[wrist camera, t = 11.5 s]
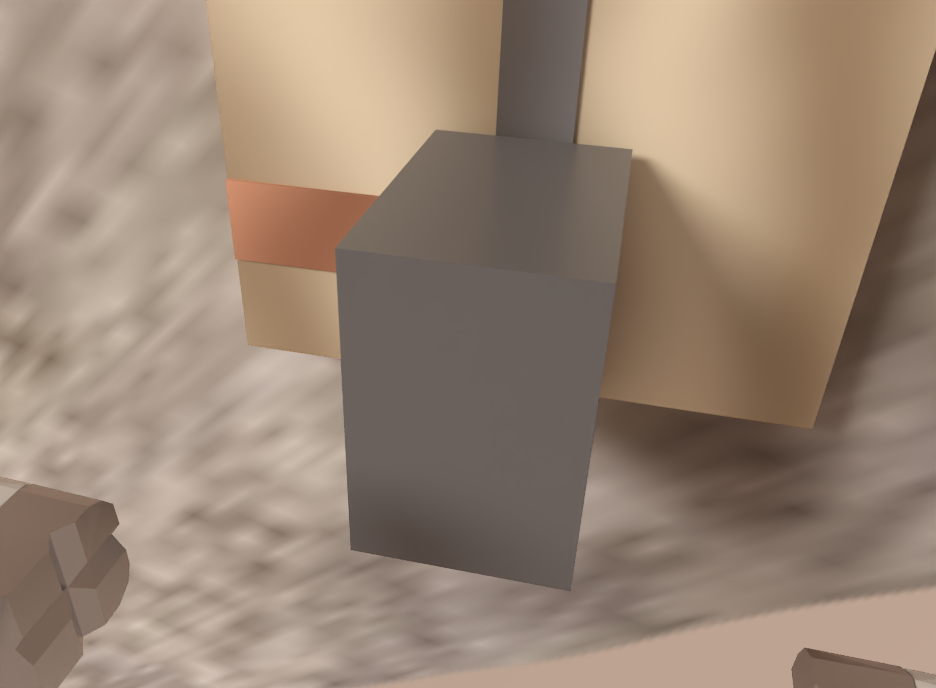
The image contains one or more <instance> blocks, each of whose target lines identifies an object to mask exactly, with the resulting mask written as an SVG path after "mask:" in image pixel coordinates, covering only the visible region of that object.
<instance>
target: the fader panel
mask: <svg viewBox="0 0 936 688" xmlns="http://www.w3.org/2000/svg"><path fill="white" fill-rule="evenodd" d="M206 6H207V14H208V22H209V30H210V38H211V47H212V55H213V63H214V71H215V79H216V88H217V96H218V104H219V112H220V120H221V129H222V137H223V145H224V153H225V161H226V170H227V178H228V179H226V187H227V195H228V203H229V212H230V220H231V228H232V236H233V244H234V252H235V259H237V260H238V268H239V276H240V284H241V292H242V301H243V309H244V317H245V325H246V333H247V342H248V345H251V346H258V347H265V348H271V349H278V350H285V351H291V352H298V353H305V354H312V355H318V356H325V357H332V358H338V359H341V353H340V334H339V314H338V295H337V276H336V257H335V247H336V246H337V245H338V244H339V243H340V242H341V240H342V239H343V238H344V237H345V236H346V235H347V233H348V232H349V231H350V230H351V229H352V227H353V226H354V225H355V224H356V223H357V222H358V220H359V219H360V218H361V217H362V216H363V215H364V213H365V212H366V211H367V210H368V209H369V207H370V206H371V205H372V204H373V203H374V202H375V200H376V199H377V198H378V197H379V196H380V195H381V193H382V192H383V191H384V190H385V189H386V187H387V186H388V185H389V184H390V183H391V182H392V180H393V179H394V178H395V177H396V176H397V175H398V173H399V172H400V171H401V170H402V169H403V167H404V166H405V165H406V164H407V163H408V162H409V160H410V159H411V158H412V157H413V156H414V154H415V153H416V152H417V151H418V150H419V149H420V147H421V146H422V145H423V144H424V143H425V142H426V140H427V139H428V138H429V137H430V136H431V134H432V133H433V132H434V131H435V130H446V131H456V132H466V133H476V134H486V135H495V136H505V137H515V138H525V139H535V140H545V141H555V142H565V143H575V144H585V145H595V146H605V147H615V148H625V149H633V151H632V159H631V167H630V175H629V184H628V192H627V200H626V208H625V216H624V225H623V233H622V241H621V249H620V257H619V265H618V274H617V282H616V289H615V296H614V302H613V309H612V316H611V322H610V329H609V336H608V343H607V349H606V356H605V363H604V369H603V376H602V383H601V390H600V396H599V398H606V399H613V400H620V401H626V402H633V403H640V404H646V405H653V406H660V407H666V408H673V409H680V410H687V411H693V412H700V413H707V414H713V415H720V416H727V417H733V418H740V419H747V420H753V421H760V422H767V423H774V424H780V425H787V426H794V427H800V428H807V429H813V426H814V423H815V420H816V417H817V414H818V411H819V408H820V404H821V401H822V398H823V395H824V392H825V389H826V386H827V383H828V380H829V377H830V374H831V371H832V367H833V364H834V361H835V358H836V355H837V352H838V349H839V346H840V343H841V340H842V337H843V334H844V330H845V327H846V324H847V321H848V318H849V315H850V312H851V309H852V306H853V303H854V300H855V297H856V294H857V290H858V287H859V284H860V281H861V278H862V275H863V272H864V269H865V266H866V263H867V260H868V257H869V253H870V250H871V247H872V244H873V241H874V238H875V235H876V232H877V229H878V226H879V223H880V220H881V216H882V213H883V210H884V207H885V204H886V201H887V198H888V195H889V192H890V189H891V186H892V183H893V179H894V176H895V173H896V170H897V167H898V164H899V161H900V158H901V155H902V152H903V149H904V146H905V142H906V139H907V136H908V133H909V130H910V127H911V124H912V121H913V118H914V115H915V112H916V109H917V105H918V102H919V99H920V96H921V93H922V90H923V87H924V84H925V81H926V78H927V75H928V72H929V69H930V65H931V62H932V59H933V56H934V53H935V50H936V0H206Z"/></svg>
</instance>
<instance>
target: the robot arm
mask: <svg viewBox="0 0 936 688" xmlns="http://www.w3.org/2000/svg"><path fill="white" fill-rule="evenodd" d="M118 525H119V521H118V518H117V515H116V512H115V509H114V506H113V504H111V503H108V502H104V501H101V500H97V499H93V498H89V497H85V496H81V495H76V494H72V493H68V492H64V491H60V490H56V489H52V488H47V487H43V486H39V485H35V484H30V483H25V482H21V481H16V480H12V479H8V478H3V477H0V688H58V687H59V686H60V684H61V683H62V682H63V680H64V679H65V678H66V676H67V675H68V674H69V672H70V671H71V670H72V668H73V667H74V666H75V664H76V663H77V662H78V660H79V659H80V658H81V657H82V655H83V636H85V635H87V634H89V633H91V632H92V631H94V630H96V629H98V628H100V627H102V626H103V625H105V624H106V623H107V622H108V620H109V619H110V618H111V616H112V615H113V613H114V612H115V611H116V609H117V608H118V606H119V605H120V602H121V600H122V597H123V595H124V592H125V589H126V587H127V584H128V581H129V560H128V556H127V552H126V549H125V548H124V547H123V546H122V545H121V544H120V543H119V542H118V541H117V539H116V538H115V537H114V536H113V535H112V533H113V532H114V530H115V529H116V528H117V526H118ZM792 677H793V686H794V688H936V675H933V674H929V673H925V672H919V671H915V670H910V669H903V668H901V667H899V666H894V665H889V664H884V663H879V662H874V661H869V660H864V659H859V658H854V657H849V656H844V655H839V654H834V653H828V652H824V651H819V650H814V649H809V648H804V649H803V650H802V651H801V652H800V653H799V654H798V655H797V657H796V660H795V662H794V665H793V667H792Z"/></svg>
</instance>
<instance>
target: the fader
mask: <svg viewBox="0 0 936 688" xmlns="http://www.w3.org/2000/svg"><path fill="white" fill-rule="evenodd" d="M632 151H633V149H625V148H615V147H605V146H595V145H585V144H575V143H565V142H555V141H545V140H535V139H525V138H515V137H505V136H495V135H486V134H476V133H466V132H456V131H446V130H435V131H434V132H433V133H432V134H431V136H430V137H429V138H428V139H427V140H426V142H425V143H424V144H423V145H422V146H421V147H420V149H419V150H418V151H417V152H416V153H415V154H414V156H413V157H412V158H411V159H410V160H409V162H408V163H407V164H406V165H405V166H404V167H403V169H402V170H401V171H400V172H399V173H398V175H397V176H396V177H395V178H394V179H393V180H392V182H391V183H390V184H389V185H388V186H387V187H386V189H385V190H384V191H383V192H382V193H381V195H380V196H379V197H378V198H377V199H376V200H375V202H374V203H373V204H372V205H371V206H370V207H369V209H368V210H367V211H366V212H365V213H364V215H363V216H362V217H361V218H360V219H359V220H358V222H357V223H356V224H355V225H354V226H353V227H352V229H351V230H350V231H349V232H348V233H347V235H346V236H345V237H344V238H343V239H342V240H341V242H340V243H339V244H338V245H337V246H336V247H335V257H336V276H337V295H338V314H339V334H340V353H341V372H342V391H343V410H344V429H345V448H346V467H347V486H348V505H349V524H350V543H351V550H354V551H360V552H365V553H370V554H376V555H381V556H386V557H391V558H397V559H402V560H407V561H413V562H418V563H423V564H429V565H434V566H439V567H445V568H450V569H455V570H461V571H466V572H471V573H477V574H482V575H487V576H493V577H498V578H503V579H509V580H514V581H519V582H525V583H530V584H535V585H541V586H546V587H551V588H557V589H562V590H567V591H571V584H572V578H573V571H574V564H575V557H576V551H577V544H578V537H579V531H580V524H581V517H582V510H583V504H584V497H585V490H586V484H587V477H588V470H589V463H590V457H591V450H592V443H593V437H594V430H595V423H596V416H597V410H598V403H599V396H600V390H601V383H602V376H603V369H604V363H605V356H606V349H607V343H608V336H609V329H610V322H611V316H612V309H613V302H614V296H615V289H616V282H617V274H618V265H619V257H620V249H621V241H622V233H623V225H624V216H625V208H626V200H627V192H628V184H629V175H630V167H631V159H632Z"/></svg>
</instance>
